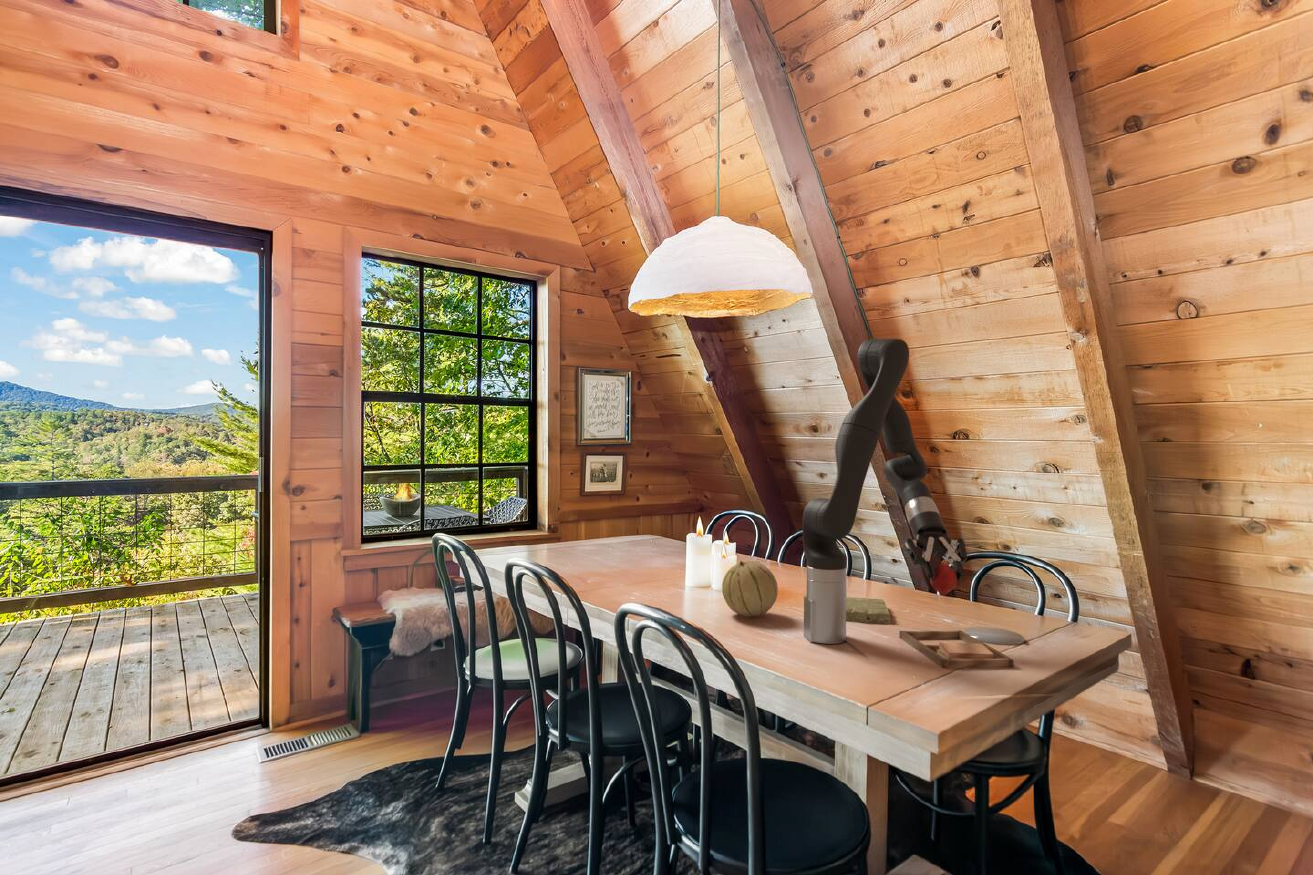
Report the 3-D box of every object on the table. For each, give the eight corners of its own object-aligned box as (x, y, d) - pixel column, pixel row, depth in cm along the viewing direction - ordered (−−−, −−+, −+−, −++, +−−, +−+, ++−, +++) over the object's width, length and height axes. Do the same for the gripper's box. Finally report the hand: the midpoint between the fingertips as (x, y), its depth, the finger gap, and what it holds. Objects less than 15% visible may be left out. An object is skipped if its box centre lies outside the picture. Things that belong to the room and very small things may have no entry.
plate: (981, 646, 161) (981, 642, 161) (953, 631, 174) (953, 627, 174) (1035, 646, 161) (1035, 641, 161) (1004, 630, 174) (1004, 626, 174)
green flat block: (811, 605, 202) (811, 592, 202) (883, 609, 198) (883, 596, 198) (812, 621, 184) (812, 608, 184) (892, 626, 180) (892, 612, 180)
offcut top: (949, 658, 147) (949, 652, 147) (939, 647, 154) (939, 642, 154) (993, 659, 146) (993, 654, 146) (981, 649, 153) (981, 643, 153)
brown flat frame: (943, 670, 144) (943, 660, 144) (899, 639, 166) (899, 631, 166) (1013, 669, 145) (1013, 659, 145) (960, 638, 167) (960, 630, 167)
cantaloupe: (788, 616, 187) (788, 560, 187) (754, 626, 177) (755, 566, 177) (744, 606, 197) (745, 553, 197) (710, 615, 187) (711, 559, 187)
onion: (943, 598, 157) (943, 563, 157) (924, 593, 162) (924, 559, 162) (962, 596, 159) (963, 561, 159) (942, 591, 165) (943, 557, 165)
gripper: (900, 509, 168) (921, 569, 156) (958, 510, 169) (984, 568, 157) (891, 528, 173) (911, 587, 161) (947, 529, 174) (971, 587, 162)
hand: (947, 578), depth 159 cm, fingers closed on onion, 6 cm apart
